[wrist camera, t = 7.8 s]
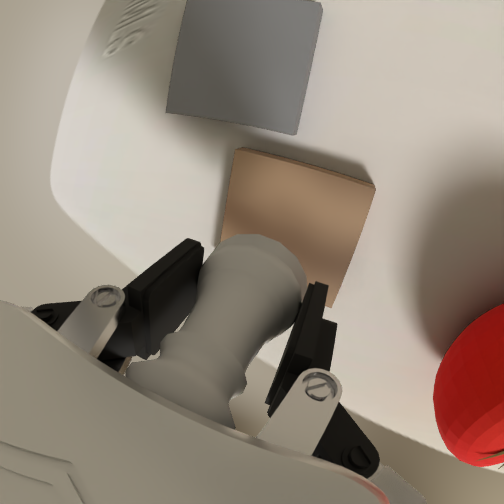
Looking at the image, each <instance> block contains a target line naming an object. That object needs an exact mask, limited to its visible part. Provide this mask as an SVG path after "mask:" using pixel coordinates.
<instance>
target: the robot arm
mask: <svg viewBox="0 0 504 504" xmlns="http://www.w3.org/2000/svg"><path fill="white" fill-rule="evenodd" d="M203 255H204V247H202V246H201V243H200V242H198V241H195V240H192V239H189V238H187V239H185V240H184V241H183V242H181V243H180V244H179V245H177V246H176V247H175V248H174V249H172V250H171V251H170V252H168V253H167V254H166V255H165V256H163V257H162V258H161V259H159V260H158V261H157V262H156V263H154V264H153V265H152V266H150V267H149V268H148V269H147V270H145V271H144V272H143V273H142V274H140V275H139V276H138V277H137V278H136V279H134V280H133V281H132V282H131V283H130V284H128V285H127V286H126V287H125V288H123V289H122V290H121V289H120V288H119V287H116V286H112V285H102V286H98V287H96V288H94V289H92V290H91V291H90V292H89V293H88V294H87V296H86V297H85V298H84V299H83V300H82V301H74V302H63V303H50V304H43V305H40V306H38V307H36V308H35V309H34V310H33V308H32V307H19V306H17V305H15V304H12V303H9V302H5V301H1V300H0V504H427V502H426V499H425V498H424V497H423V495H422V494H420V493H419V492H418V491H417V490H416V489H414V488H413V487H412V486H411V485H410V484H409V483H407V482H406V481H405V480H404V479H403V478H402V477H400V476H399V475H398V474H397V473H396V472H395V471H393V470H392V469H391V468H390V467H389V466H388V465H387V466H386V467H384V466H383V465H382V464H381V463H380V459H379V454H378V452H377V450H376V448H375V447H374V445H373V444H372V443H371V442H370V440H369V439H368V438H367V437H366V435H365V434H364V433H363V432H362V430H361V429H360V428H359V427H358V425H357V424H356V423H355V421H354V420H353V419H352V418H351V416H350V415H349V414H348V413H347V411H346V410H345V409H344V407H343V406H342V405H341V404H340V402H339V400H340V398H341V395H342V385H341V383H340V381H339V380H338V379H337V377H336V376H335V375H333V374H332V373H330V367H331V361H332V355H333V349H334V343H335V337H336V330H337V323H335V322H332V321H329V320H325V319H322V317H323V312H324V308H325V303H326V298H327V293H328V288H329V285H326V284H323V283H320V282H317V281H315V284H311V283H309V285H308V287H307V290H306V293H305V296H304V299H303V301H302V304H301V307H300V310H299V313H298V315H297V318H296V321H295V323H294V326H293V329H292V331H291V334H290V337H289V339H288V342H287V345H286V348H285V350H284V353H283V356H282V359H281V361H280V364H279V367H278V369H277V372H276V375H275V378H274V380H273V383H272V386H271V388H270V390H269V393H268V396H267V398H266V401H265V403H266V404H268V405H270V406H269V409H268V412H267V413H268V416H269V417H270V419H269V421H268V422H267V424H266V425H265V426H264V428H263V429H262V430H261V432H260V433H259V434H258V436H257V437H256V438H255V437H253V436H250V435H247V434H244V433H242V432H239V431H236V430H234V429H231V428H229V427H226V426H224V425H221V424H219V423H217V422H214V421H212V420H210V419H207V418H205V417H203V416H200V415H198V414H196V413H194V412H192V411H190V410H187V409H185V408H183V407H181V406H179V405H177V404H175V403H173V402H171V401H169V400H167V399H165V398H163V397H161V396H159V395H157V394H155V393H153V392H152V391H150V390H148V389H146V388H144V387H142V386H141V385H139V384H137V383H135V382H134V381H132V380H130V379H128V378H127V377H125V376H124V374H125V371H126V369H127V368H128V366H129V364H130V362H131V360H132V356H136V355H137V356H139V357H141V358H143V359H145V360H147V359H148V357H149V356H150V355H151V354H152V355H155V354H156V353H157V352H158V351H159V350H160V343H161V341H162V340H163V339H164V337H165V336H166V335H167V334H170V333H174V331H175V330H176V329H177V328H178V327H179V325H180V324H181V323H182V322H183V321H184V319H185V318H186V317H187V316H188V315H189V313H190V312H191V310H192V309H193V307H194V305H195V303H196V294H197V284H198V278H199V272H200V269H201V267H202V264H203Z"/></svg>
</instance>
